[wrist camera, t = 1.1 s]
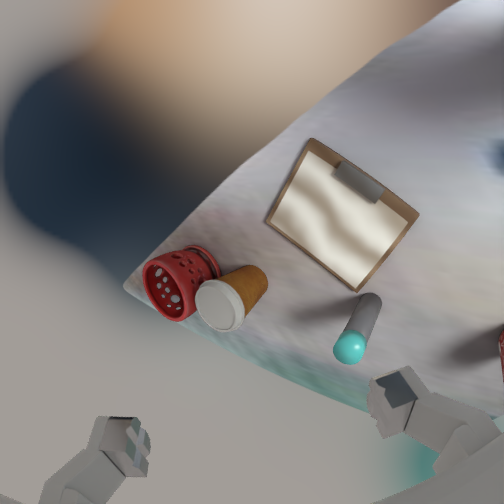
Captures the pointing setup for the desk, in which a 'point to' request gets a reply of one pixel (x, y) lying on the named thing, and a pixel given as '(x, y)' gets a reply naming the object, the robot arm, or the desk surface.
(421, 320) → the desk surface
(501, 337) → the soda can
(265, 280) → the disposable coffee cup
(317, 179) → the clipboard
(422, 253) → the desk surface
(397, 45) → the desk surface
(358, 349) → the ball
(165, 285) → the plant pot
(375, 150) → the desk surface
